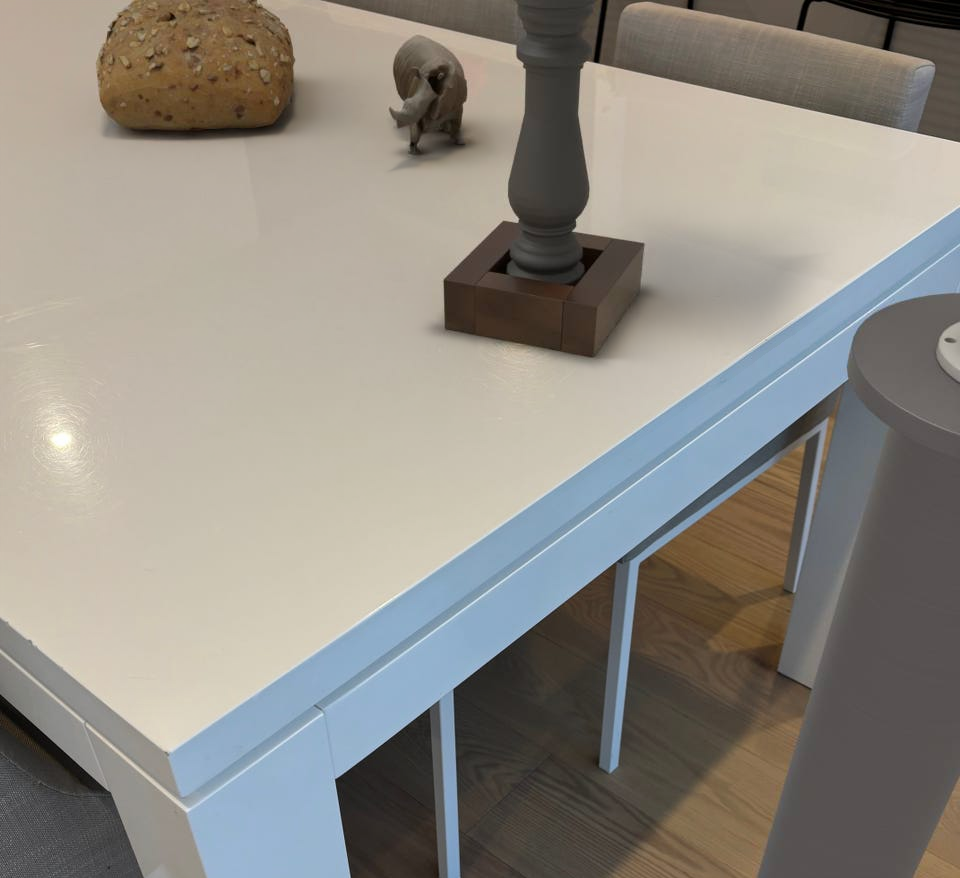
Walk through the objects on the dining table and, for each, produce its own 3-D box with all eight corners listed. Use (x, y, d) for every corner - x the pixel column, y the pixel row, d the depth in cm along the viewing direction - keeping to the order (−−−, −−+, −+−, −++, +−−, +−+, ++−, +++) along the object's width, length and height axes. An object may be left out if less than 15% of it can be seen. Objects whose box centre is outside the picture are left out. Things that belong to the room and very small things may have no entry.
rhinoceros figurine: (468, 84, 121) (457, -21, 107) (478, 193, 119) (467, 100, 104) (400, 92, 122) (379, -12, 107) (407, 201, 119) (387, 109, 104)
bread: (294, 138, 116) (280, 13, 108) (94, 143, 115) (64, 17, 107) (306, 72, 134) (295, -40, 126) (133, 76, 133) (110, -37, 125)
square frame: (640, 290, 89) (645, 242, 86) (593, 357, 80) (597, 306, 78) (502, 266, 92) (503, 220, 89) (444, 328, 84) (443, 279, 81)
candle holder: (588, 295, 88) (612, -65, 71) (575, 330, 84) (598, -46, 67) (514, 288, 89) (520, -69, 72) (498, 322, 85) (500, -50, 68)
